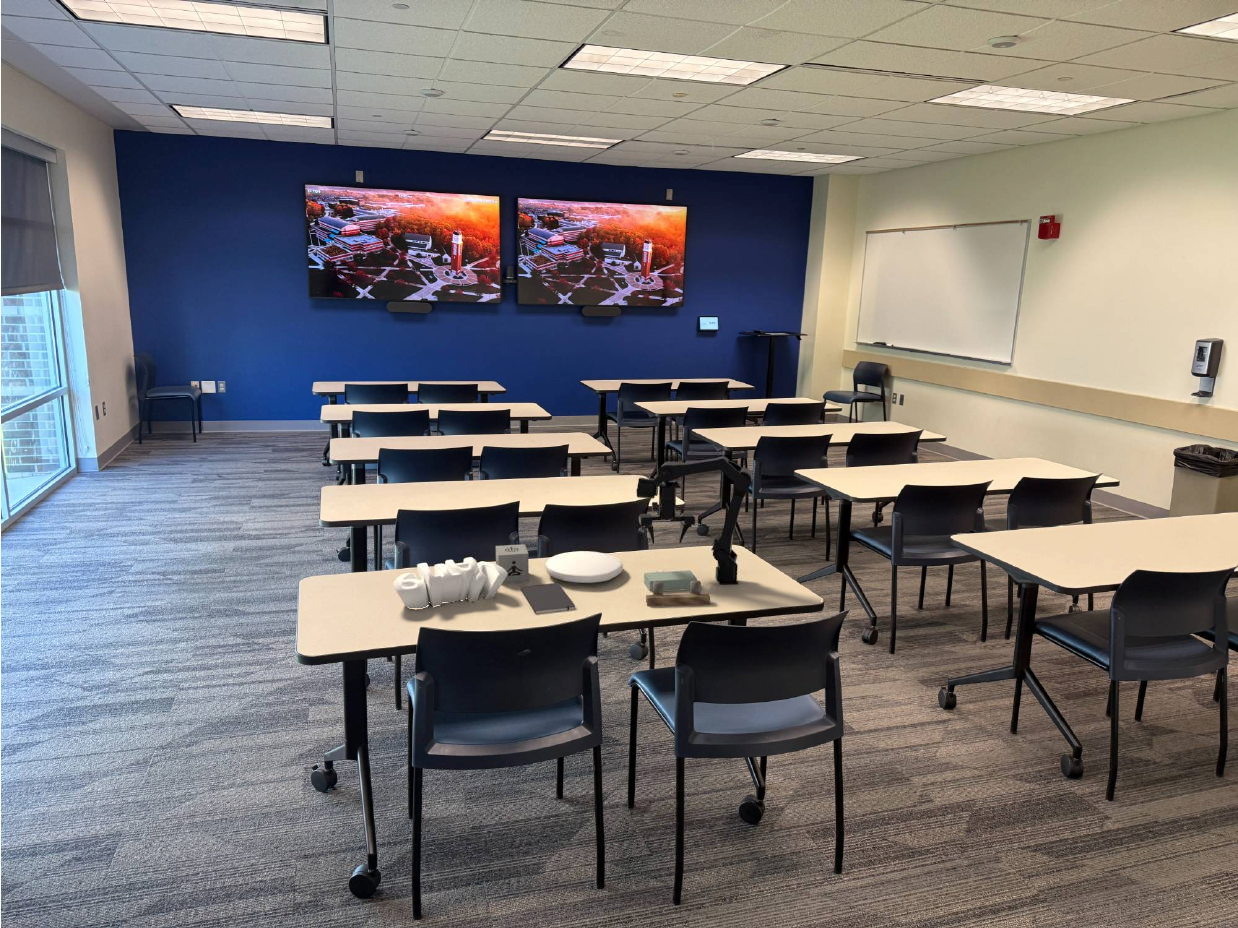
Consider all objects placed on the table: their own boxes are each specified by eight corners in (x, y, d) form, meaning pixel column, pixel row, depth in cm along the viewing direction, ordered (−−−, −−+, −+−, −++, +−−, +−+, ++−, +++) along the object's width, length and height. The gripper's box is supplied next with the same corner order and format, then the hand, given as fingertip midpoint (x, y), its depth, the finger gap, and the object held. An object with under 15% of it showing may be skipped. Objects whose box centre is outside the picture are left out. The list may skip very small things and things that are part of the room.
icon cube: (496, 573, 279) (495, 546, 277) (525, 571, 282) (524, 544, 279) (498, 583, 270) (498, 555, 268) (528, 581, 272) (528, 553, 270)
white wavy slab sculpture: (498, 583, 270) (497, 553, 268) (510, 600, 255) (510, 569, 253) (390, 596, 257) (388, 565, 255) (396, 616, 243) (395, 583, 240)
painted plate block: (689, 581, 275) (690, 570, 275) (696, 589, 268) (696, 578, 267) (644, 584, 272) (644, 572, 272) (649, 592, 265) (649, 581, 264)
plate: (549, 547, 293) (623, 549, 293) (549, 565, 294) (622, 567, 293) (541, 565, 265) (622, 567, 265) (540, 585, 266) (621, 587, 265)
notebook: (520, 591, 265) (535, 615, 245) (520, 586, 265) (535, 610, 245) (557, 586, 269) (575, 610, 250) (557, 582, 269) (575, 606, 249)
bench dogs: (706, 597, 260) (706, 579, 259) (710, 604, 255) (710, 586, 254) (644, 598, 258) (645, 581, 257) (647, 605, 253) (647, 587, 251)
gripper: (690, 493, 283) (688, 535, 286) (637, 493, 281) (636, 536, 284) (696, 501, 272) (695, 545, 275) (641, 502, 270) (640, 546, 273)
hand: (666, 543), depth 277 cm, fingers open, 9 cm apart
